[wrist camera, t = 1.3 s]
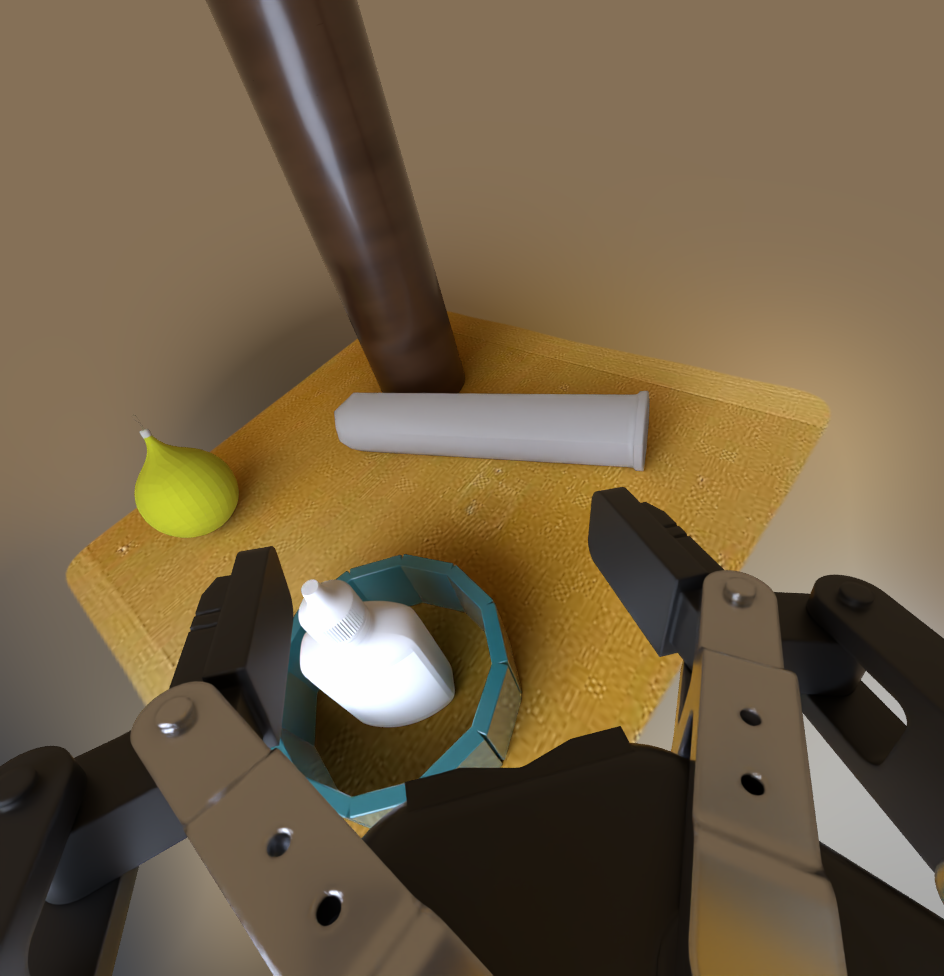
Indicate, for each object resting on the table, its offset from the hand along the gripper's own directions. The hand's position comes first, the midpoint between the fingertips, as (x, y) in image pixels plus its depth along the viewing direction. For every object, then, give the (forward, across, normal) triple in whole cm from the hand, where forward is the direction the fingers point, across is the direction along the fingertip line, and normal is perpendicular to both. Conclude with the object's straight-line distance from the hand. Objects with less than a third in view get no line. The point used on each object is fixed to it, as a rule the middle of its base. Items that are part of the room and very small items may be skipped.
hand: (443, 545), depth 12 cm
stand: (+36, -4, +8) cm, 37 cm away
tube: (+25, -7, +10) cm, 28 cm away
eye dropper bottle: (+8, +2, +17) cm, 19 cm away
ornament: (+28, +16, +15) cm, 36 cm away
